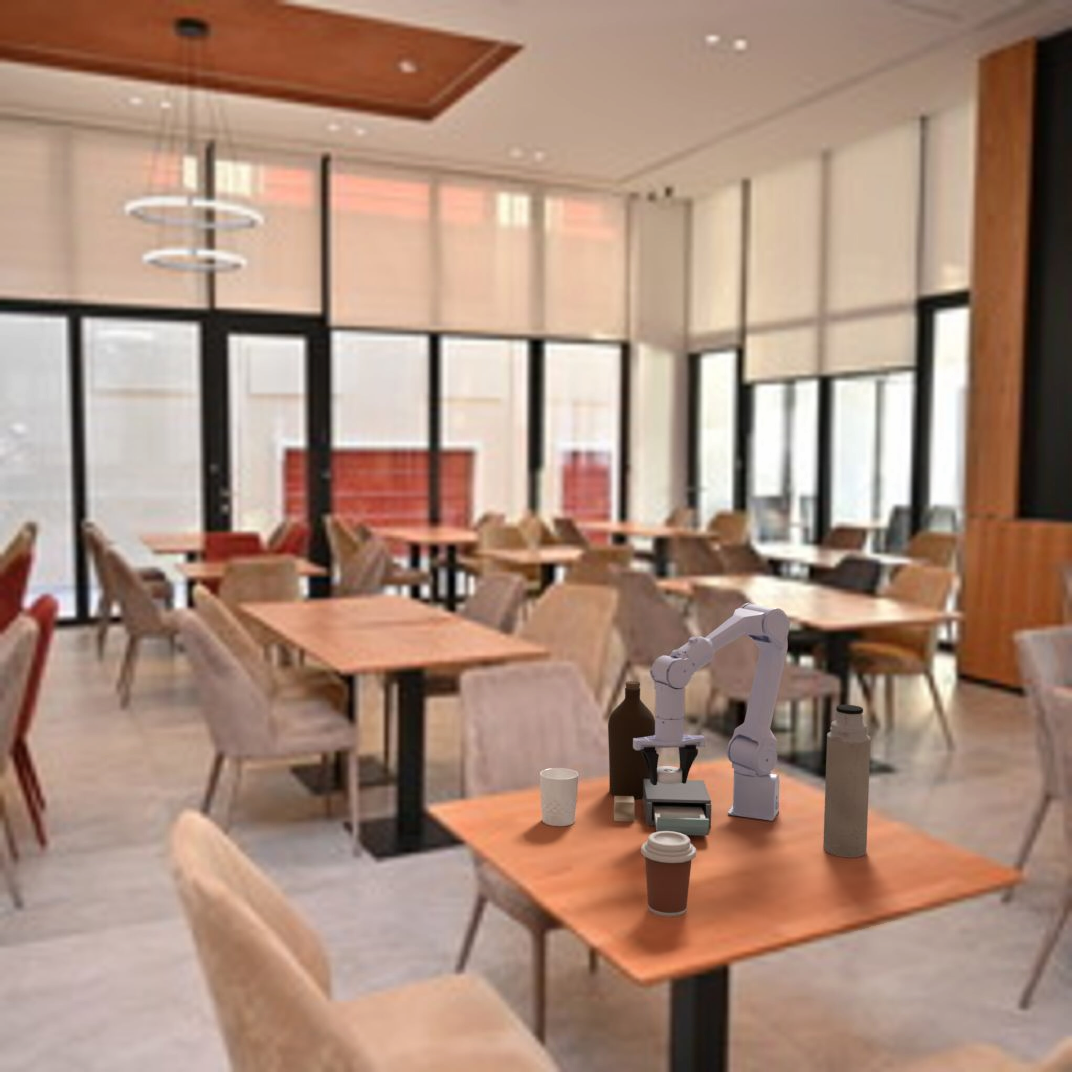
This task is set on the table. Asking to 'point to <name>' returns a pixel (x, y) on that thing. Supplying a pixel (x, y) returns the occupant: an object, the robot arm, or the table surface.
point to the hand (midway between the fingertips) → (668, 782)
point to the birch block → (624, 808)
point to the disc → (669, 775)
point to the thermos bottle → (847, 784)
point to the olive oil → (628, 743)
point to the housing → (675, 797)
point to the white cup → (558, 796)
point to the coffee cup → (668, 872)
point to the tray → (681, 820)
